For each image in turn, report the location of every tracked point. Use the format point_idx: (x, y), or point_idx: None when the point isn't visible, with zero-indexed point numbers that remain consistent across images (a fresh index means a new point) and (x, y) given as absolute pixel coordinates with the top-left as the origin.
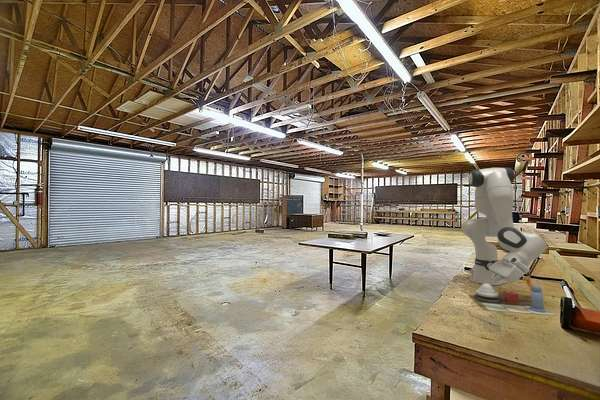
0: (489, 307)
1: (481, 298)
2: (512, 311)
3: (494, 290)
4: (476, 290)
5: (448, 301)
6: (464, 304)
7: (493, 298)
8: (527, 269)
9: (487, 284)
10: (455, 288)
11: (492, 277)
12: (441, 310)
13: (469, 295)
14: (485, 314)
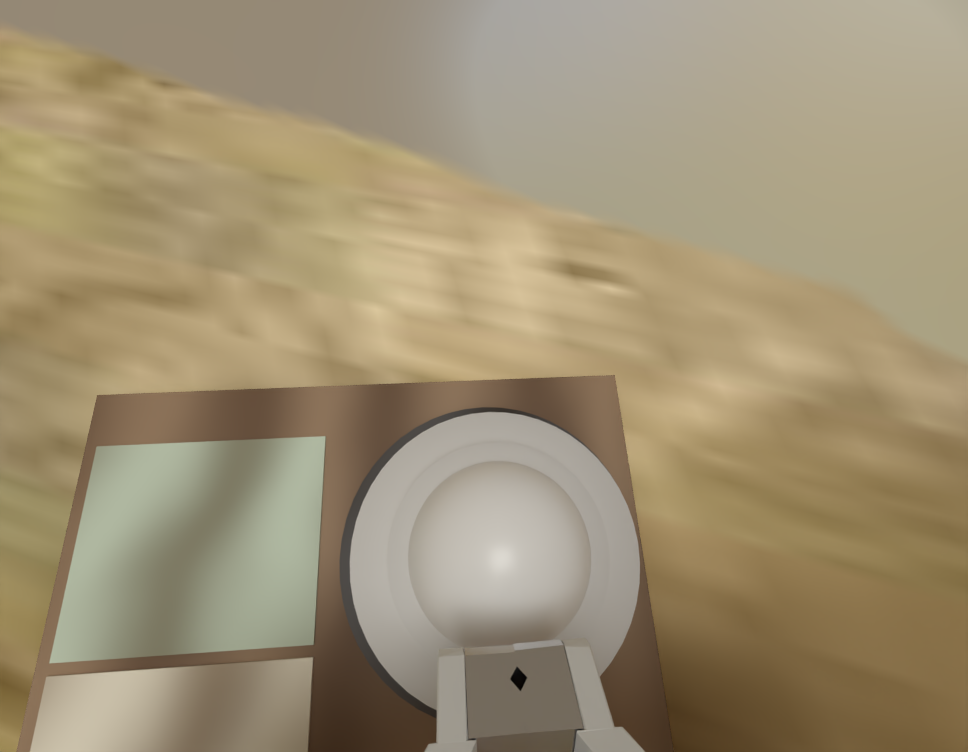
0: (182, 477)
1: None
2: (53, 704)
3: (426, 651)
4: (499, 414)
5: (425, 205)
6: (369, 309)
7: None
8: None
9: (469, 555)
10: (912, 349)
11: (580, 739)
12: (183, 121)
13: (587, 391)
14: None
